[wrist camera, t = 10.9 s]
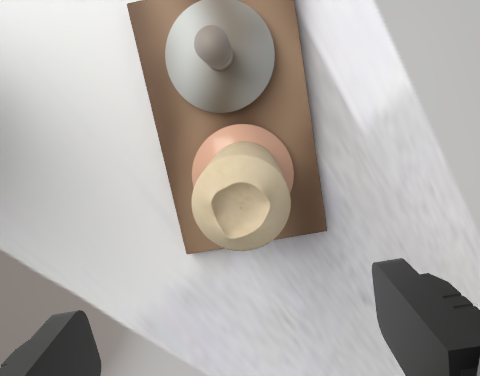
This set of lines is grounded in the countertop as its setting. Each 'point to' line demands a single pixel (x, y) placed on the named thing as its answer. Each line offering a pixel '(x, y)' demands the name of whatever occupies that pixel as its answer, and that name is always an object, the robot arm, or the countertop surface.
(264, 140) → the pad
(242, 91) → the board
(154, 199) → the countertop surface
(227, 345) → the countertop surface
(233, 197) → the candle
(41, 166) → the countertop surface
